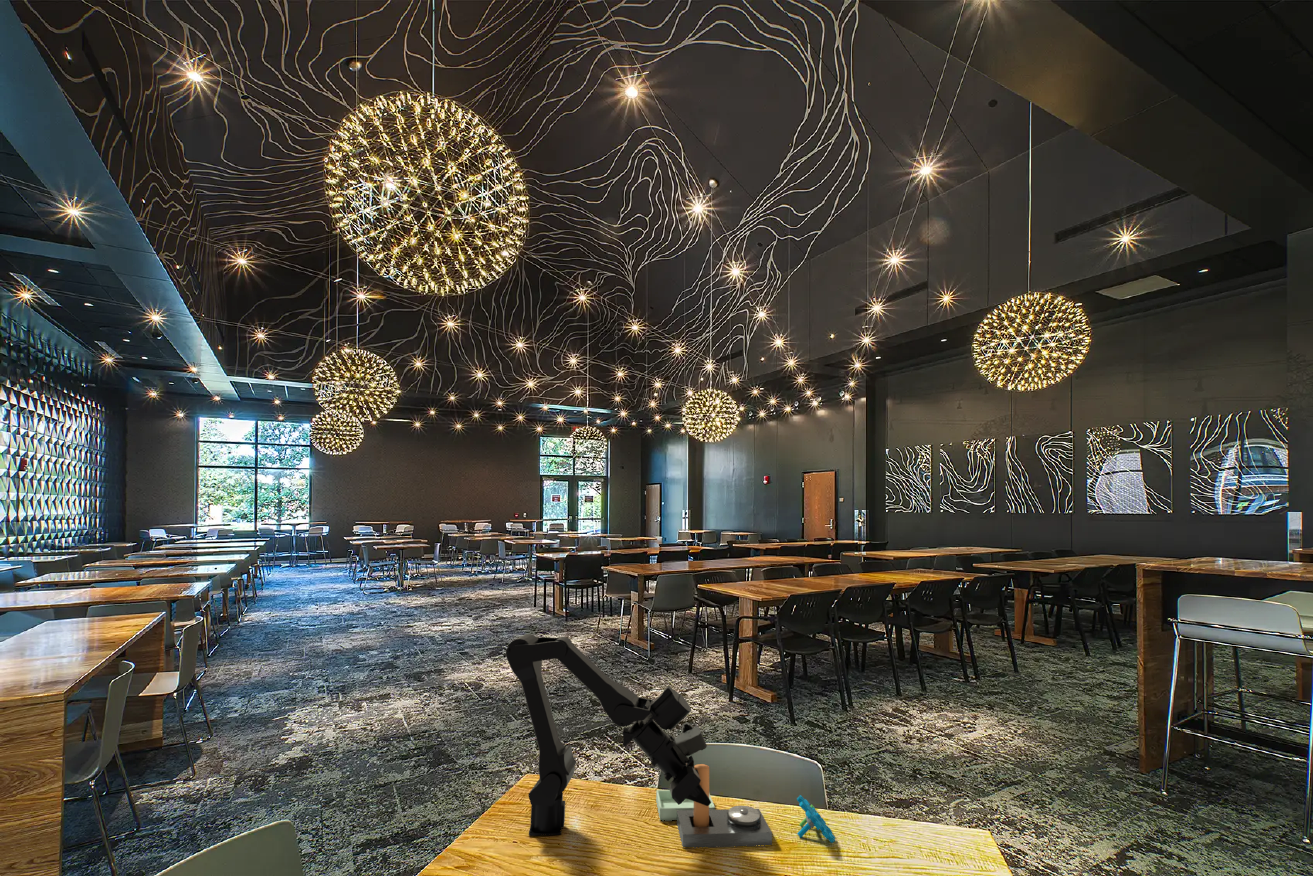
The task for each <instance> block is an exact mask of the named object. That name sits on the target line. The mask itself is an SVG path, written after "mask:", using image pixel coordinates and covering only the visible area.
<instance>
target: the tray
mask: <svg viewBox="0 0 1313 876" xmlns="http://www.w3.org/2000/svg"><path fill="white" fill-rule="evenodd" d="M655 792H656V794H655V801H656V802H655V804H656V803H657V804H656V808H658V809H657V813H659V814H658V818H660V819H659V821H660V820H662V821H661V822H673V821H672V820H677V810H694V801H692V800H689V799H685V800H684V801H683V802H682V803H681V804H679V805H678V804H677V803H676V802H675V801H674V799H673V798H672V796H671V792H670V789H656V791H655ZM709 799H710V801H711V804H710V805H709V810H716V807H715V804H714V801H713V798H712V796H711V794H710V793H709ZM664 820H665V821H664Z"/></svg>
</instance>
